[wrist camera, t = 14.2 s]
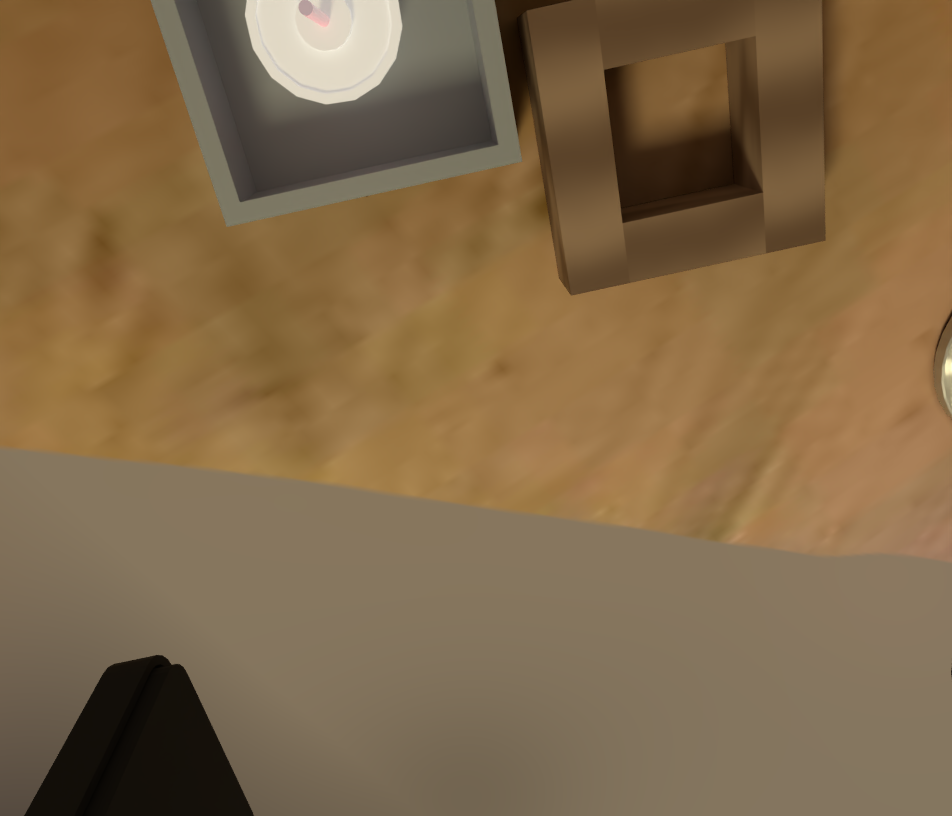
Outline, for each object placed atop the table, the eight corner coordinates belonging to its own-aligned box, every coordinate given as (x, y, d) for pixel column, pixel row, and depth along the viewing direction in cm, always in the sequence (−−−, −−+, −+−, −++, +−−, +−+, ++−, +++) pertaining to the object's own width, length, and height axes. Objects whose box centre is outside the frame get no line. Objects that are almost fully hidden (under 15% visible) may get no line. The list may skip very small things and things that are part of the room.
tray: (511, 153, 41) (522, 161, 37) (249, 211, 42) (226, 226, 37) (454, -173, 35) (458, -213, 31) (148, -102, 36) (107, -130, 31)
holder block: (792, 227, 44) (825, 240, 40) (559, 278, 44) (571, 295, 40) (783, -42, 38) (821, -56, 35) (516, 18, 39) (526, 10, 35)
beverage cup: (405, 105, 39) (396, 112, 26) (286, 97, 38) (218, 101, 26) (408, -30, 37) (399, -94, 24) (281, -39, 36) (202, -110, 23)
